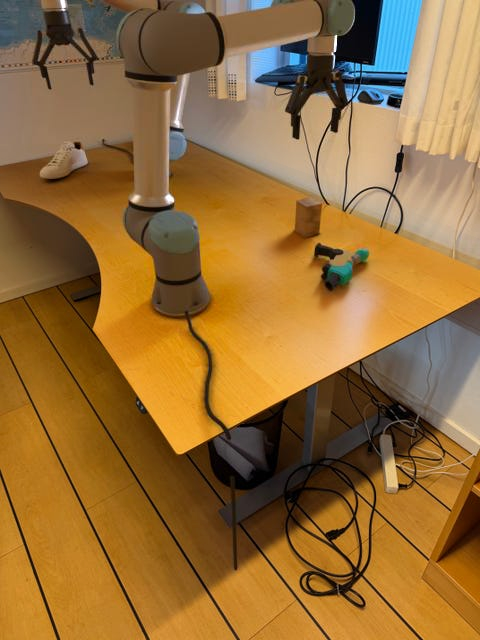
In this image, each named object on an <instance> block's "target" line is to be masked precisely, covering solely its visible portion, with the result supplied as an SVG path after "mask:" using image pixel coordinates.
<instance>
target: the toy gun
mask: <svg viewBox="0 0 480 640" xmlns="http://www.w3.org/2000/svg"><path fill="white" fill-rule="evenodd" d="M313 256H314V257H315V258H318V257H319V256H320V257H327V258H329V261H328V262H326V263H324V265H323V266H322V267H321V271H322V273H321V275H320V278H321V280H322V281H324V287H325V289H327V291H329V292H333V291H334V290H335V288H337V287H338V286H339V285H341V286H343V285H344V286H345V285H346V284H347V283H349V282H350V281H351V280H352V278H353V275H354V271H353V267H355V266H357V265H359V263H364V262H365V261H367V259H368V258H369V257H370V250H369V249H367V248H358V249H357V250H355V252H354V254H352V252H351V251H350V250H347V249H342V248H341V249H340V248H333V247H331V246H327V245H323V244H322V243H321V242H317V243H316V244H315V245H314V252H313Z"/></svg>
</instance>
